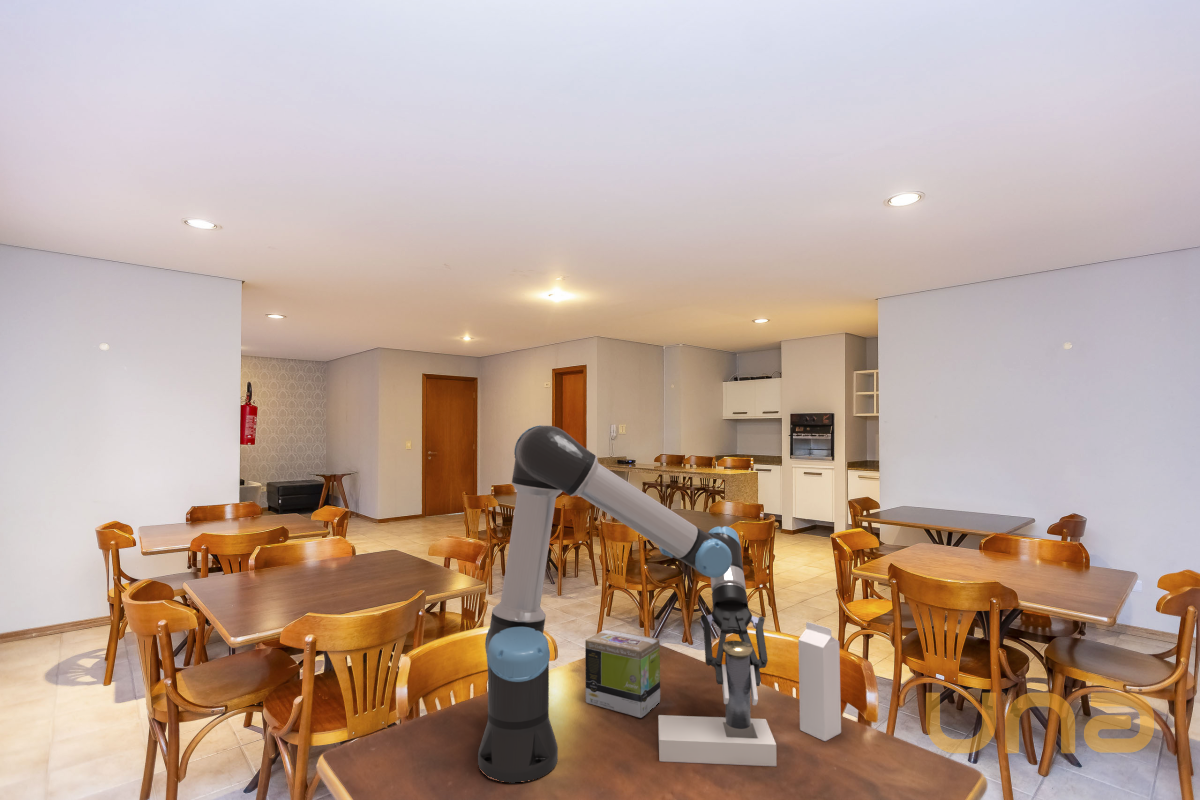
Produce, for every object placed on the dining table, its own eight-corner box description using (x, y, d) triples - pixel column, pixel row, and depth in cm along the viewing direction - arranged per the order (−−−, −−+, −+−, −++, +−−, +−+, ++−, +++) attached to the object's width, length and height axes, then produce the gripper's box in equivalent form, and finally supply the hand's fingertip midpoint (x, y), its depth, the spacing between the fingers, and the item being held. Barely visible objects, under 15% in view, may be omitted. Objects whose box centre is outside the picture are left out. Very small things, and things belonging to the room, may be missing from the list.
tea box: (661, 702, 139) (661, 638, 140) (640, 720, 131) (640, 651, 131) (606, 687, 147) (606, 626, 148) (583, 703, 139) (583, 638, 139)
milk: (825, 742, 122) (823, 632, 122) (799, 730, 126) (797, 624, 127) (841, 732, 125) (839, 626, 126) (816, 721, 130) (814, 618, 131)
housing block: (659, 761, 114) (659, 739, 115) (658, 734, 124) (658, 715, 125) (776, 766, 113) (776, 744, 113) (766, 738, 123) (765, 719, 123)
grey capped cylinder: (725, 729, 116) (724, 650, 117) (721, 715, 122) (721, 640, 122) (755, 730, 115) (754, 651, 116) (750, 716, 121) (749, 641, 122)
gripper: (767, 601, 134) (784, 711, 117) (687, 599, 135) (693, 707, 118) (772, 583, 129) (791, 695, 112) (689, 581, 130) (695, 691, 113)
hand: (740, 701), depth 115 cm, fingers closed on grey capped cylinder, 5 cm apart
